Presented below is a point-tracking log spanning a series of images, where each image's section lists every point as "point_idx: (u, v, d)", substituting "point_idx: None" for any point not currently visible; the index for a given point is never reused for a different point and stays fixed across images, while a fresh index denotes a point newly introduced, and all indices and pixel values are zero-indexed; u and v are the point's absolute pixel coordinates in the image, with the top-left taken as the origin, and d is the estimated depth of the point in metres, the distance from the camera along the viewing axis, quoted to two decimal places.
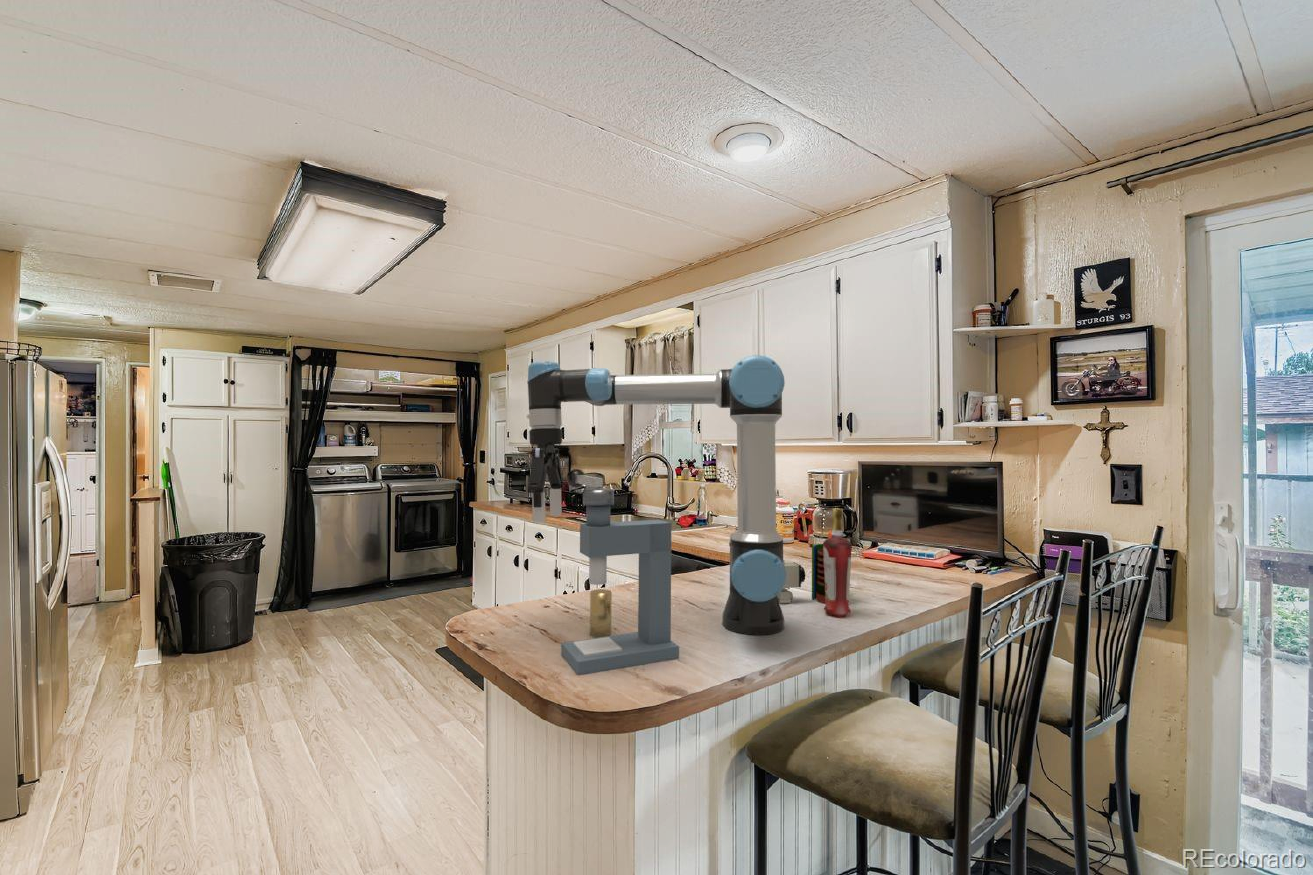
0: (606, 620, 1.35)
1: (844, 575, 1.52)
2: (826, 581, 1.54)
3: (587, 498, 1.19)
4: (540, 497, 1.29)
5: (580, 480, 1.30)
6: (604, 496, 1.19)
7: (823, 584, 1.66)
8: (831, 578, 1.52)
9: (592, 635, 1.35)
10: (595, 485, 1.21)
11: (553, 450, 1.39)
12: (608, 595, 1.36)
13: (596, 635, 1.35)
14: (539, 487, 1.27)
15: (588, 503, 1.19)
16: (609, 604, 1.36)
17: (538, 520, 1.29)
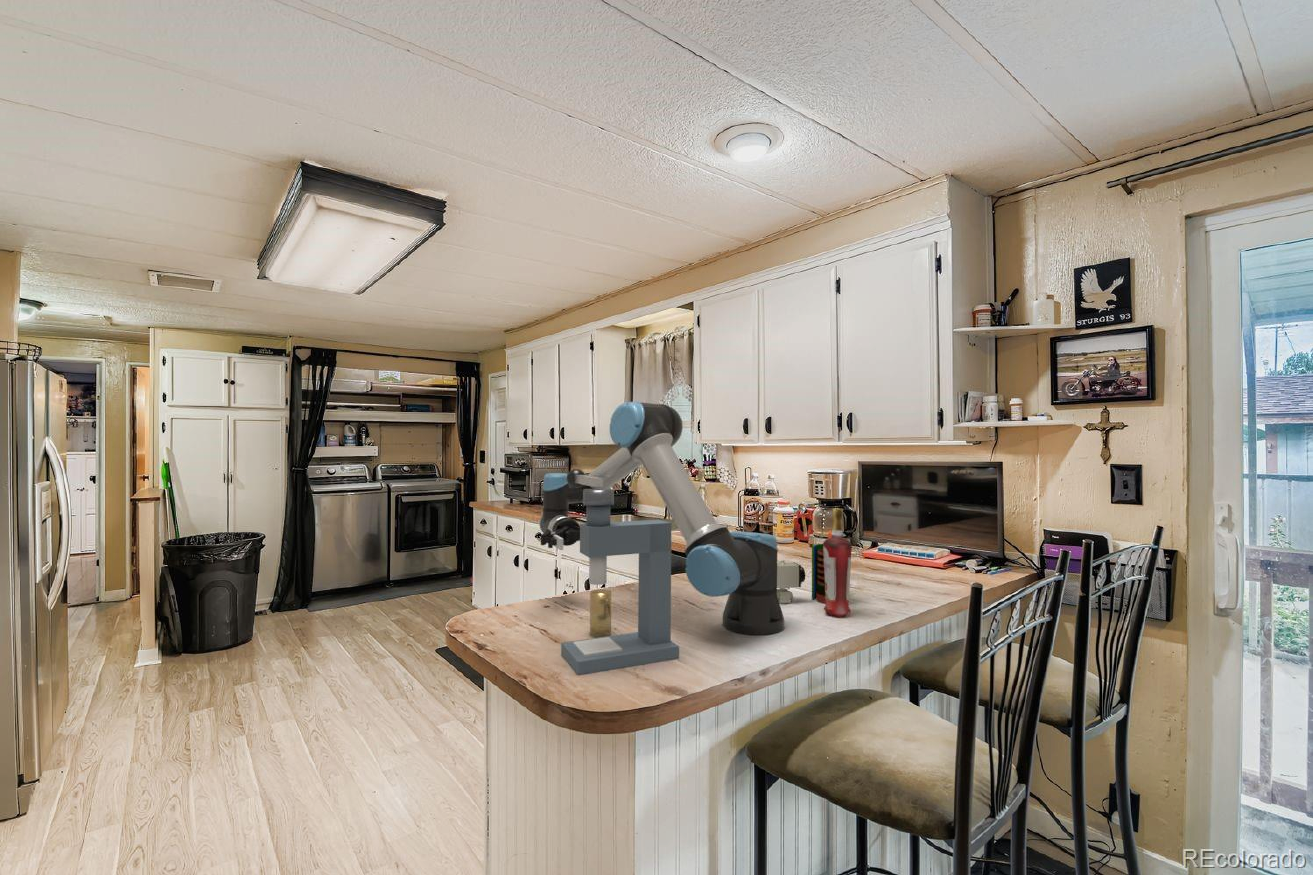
0: (606, 620, 1.35)
1: (844, 575, 1.52)
2: (826, 581, 1.54)
3: (587, 498, 1.19)
4: (552, 538, 1.48)
5: (580, 480, 1.30)
6: (604, 496, 1.19)
7: (823, 584, 1.66)
8: (831, 578, 1.52)
9: (592, 635, 1.35)
10: (595, 485, 1.21)
11: None
12: (607, 594, 1.36)
13: (596, 635, 1.35)
14: (541, 535, 1.49)
15: (588, 503, 1.19)
16: (609, 604, 1.36)
17: (559, 544, 1.43)
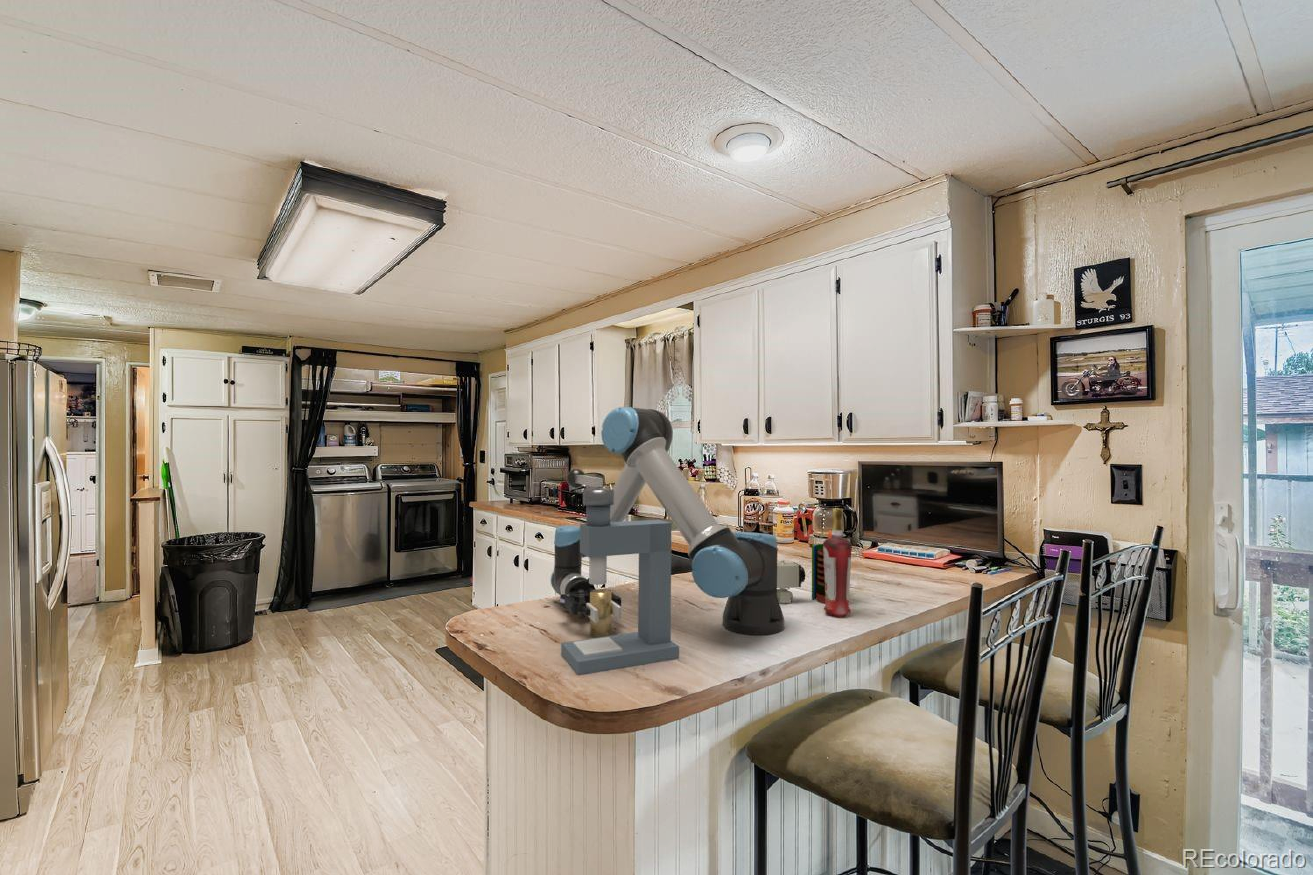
0: (606, 619, 1.35)
1: (844, 575, 1.52)
2: (826, 581, 1.54)
3: (587, 498, 1.19)
4: (585, 607, 1.36)
5: (580, 480, 1.30)
6: (604, 496, 1.19)
7: (823, 584, 1.66)
8: (831, 578, 1.52)
9: (592, 635, 1.35)
10: (595, 485, 1.21)
11: None
12: (607, 594, 1.36)
13: (596, 635, 1.35)
14: (573, 603, 1.37)
15: (588, 503, 1.19)
16: (609, 604, 1.36)
17: (594, 616, 1.31)
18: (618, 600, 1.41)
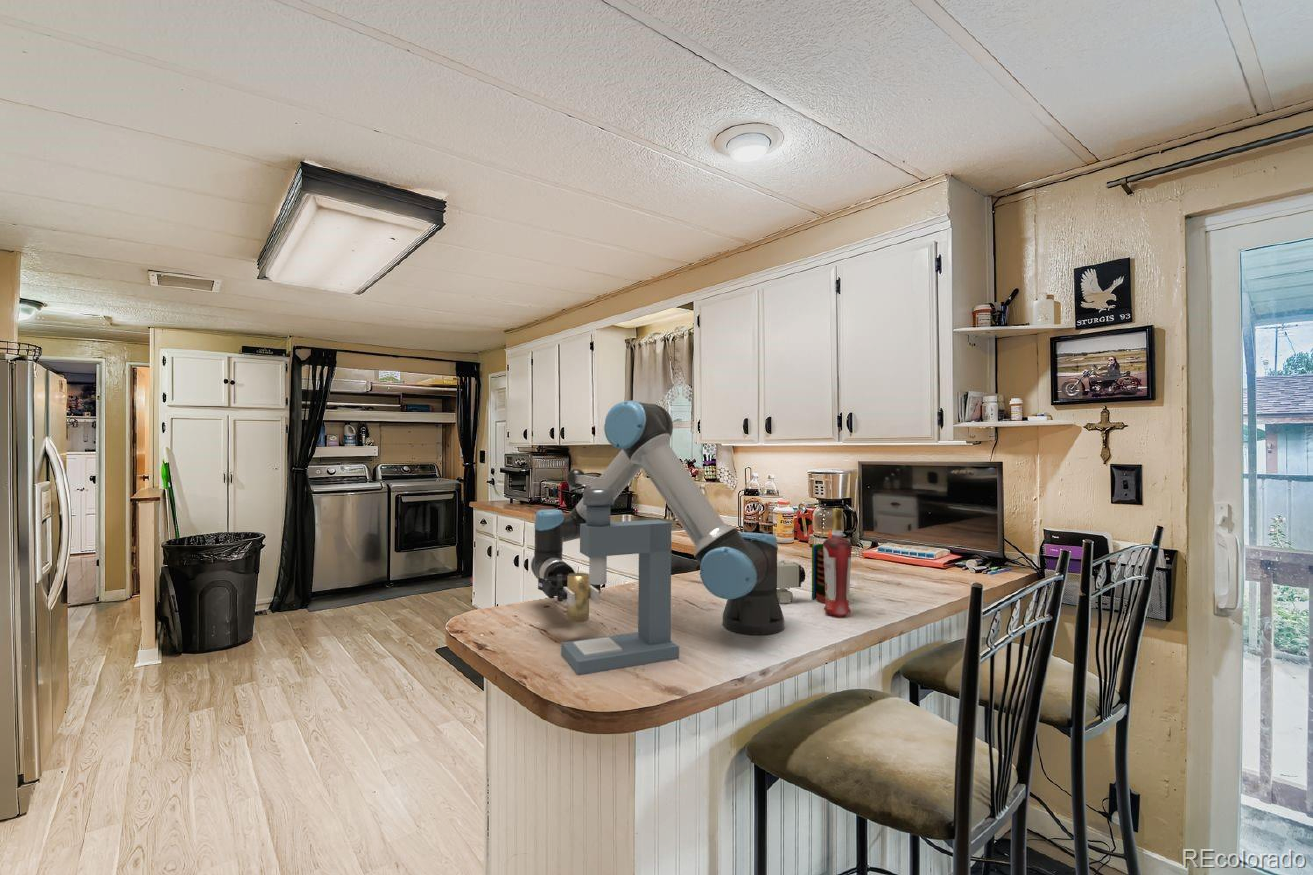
0: (584, 603, 1.31)
1: (844, 575, 1.52)
2: (826, 581, 1.54)
3: (587, 498, 1.19)
4: (562, 590, 1.32)
5: (580, 480, 1.30)
6: (604, 496, 1.19)
7: (823, 584, 1.66)
8: (831, 578, 1.52)
9: (569, 619, 1.31)
10: (595, 485, 1.21)
11: None
12: (585, 578, 1.32)
13: (573, 619, 1.31)
14: (550, 587, 1.33)
15: (588, 503, 1.19)
16: (587, 587, 1.32)
17: (571, 599, 1.27)
18: None
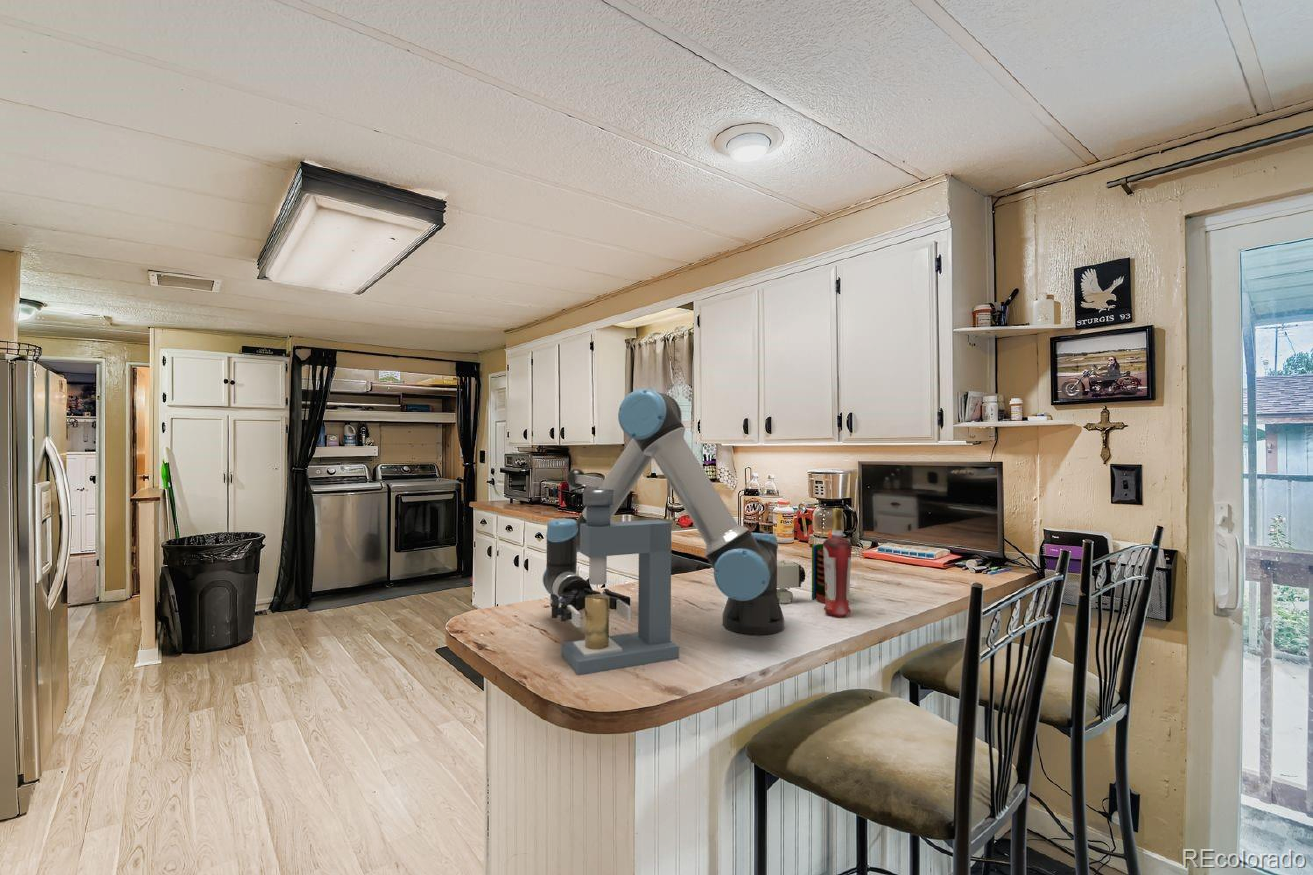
0: (603, 629, 1.19)
1: (844, 575, 1.52)
2: (826, 581, 1.54)
3: (587, 498, 1.19)
4: (566, 609, 1.20)
5: (580, 480, 1.30)
6: (604, 496, 1.19)
7: (823, 584, 1.66)
8: (831, 578, 1.52)
9: (587, 646, 1.19)
10: (595, 485, 1.21)
11: None
12: (605, 600, 1.20)
13: (592, 646, 1.19)
14: (553, 605, 1.21)
15: (588, 503, 1.19)
16: (607, 611, 1.20)
17: (575, 620, 1.15)
18: (627, 599, 1.27)
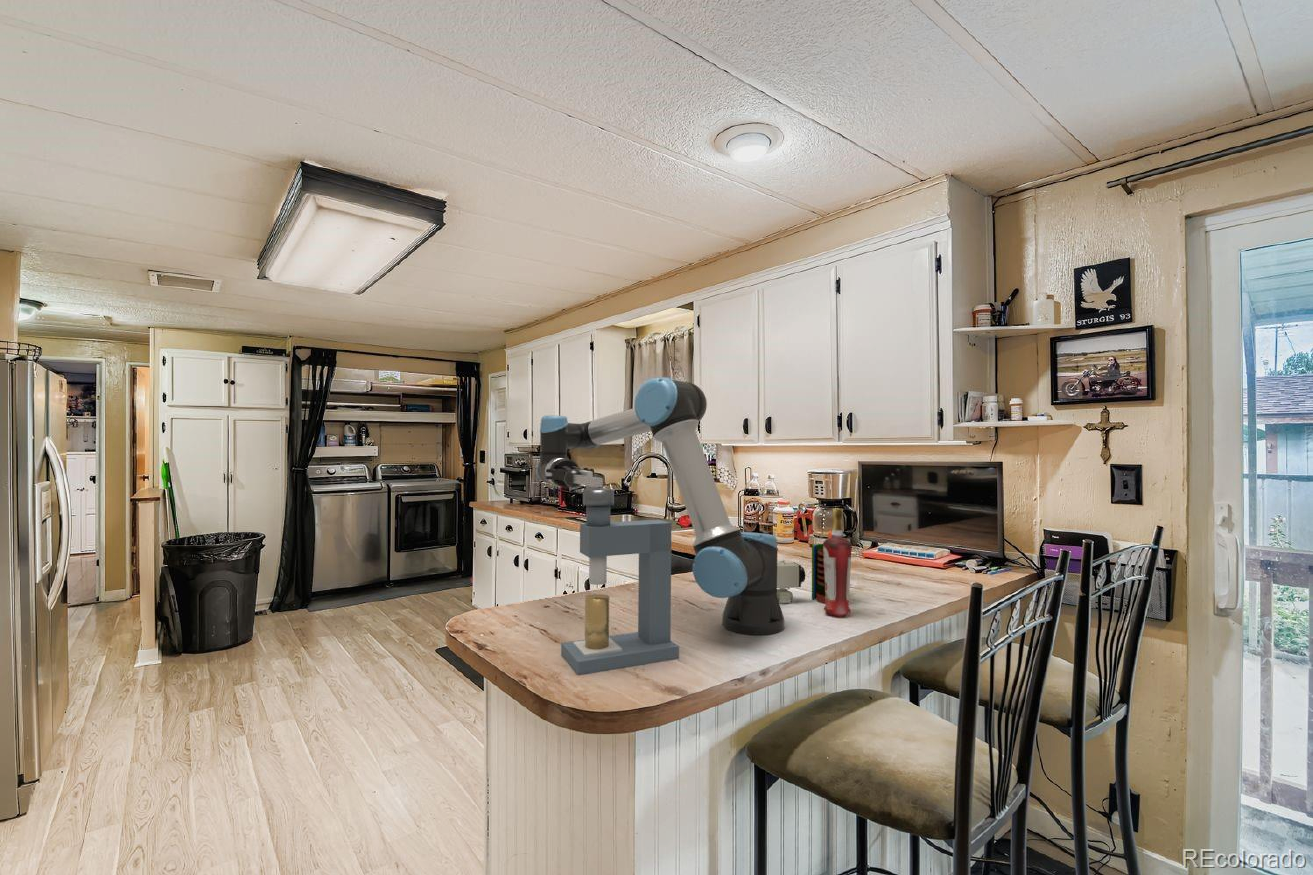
0: (603, 629, 1.19)
1: (844, 575, 1.52)
2: (826, 581, 1.54)
3: (588, 498, 1.19)
4: None
5: (578, 480, 1.30)
6: (604, 496, 1.19)
7: (823, 584, 1.66)
8: (831, 578, 1.52)
9: (587, 646, 1.19)
10: (595, 485, 1.21)
11: None
12: (605, 600, 1.20)
13: (592, 646, 1.19)
14: (567, 470, 1.41)
15: (588, 503, 1.19)
16: (607, 611, 1.20)
17: None
18: (590, 472, 1.43)
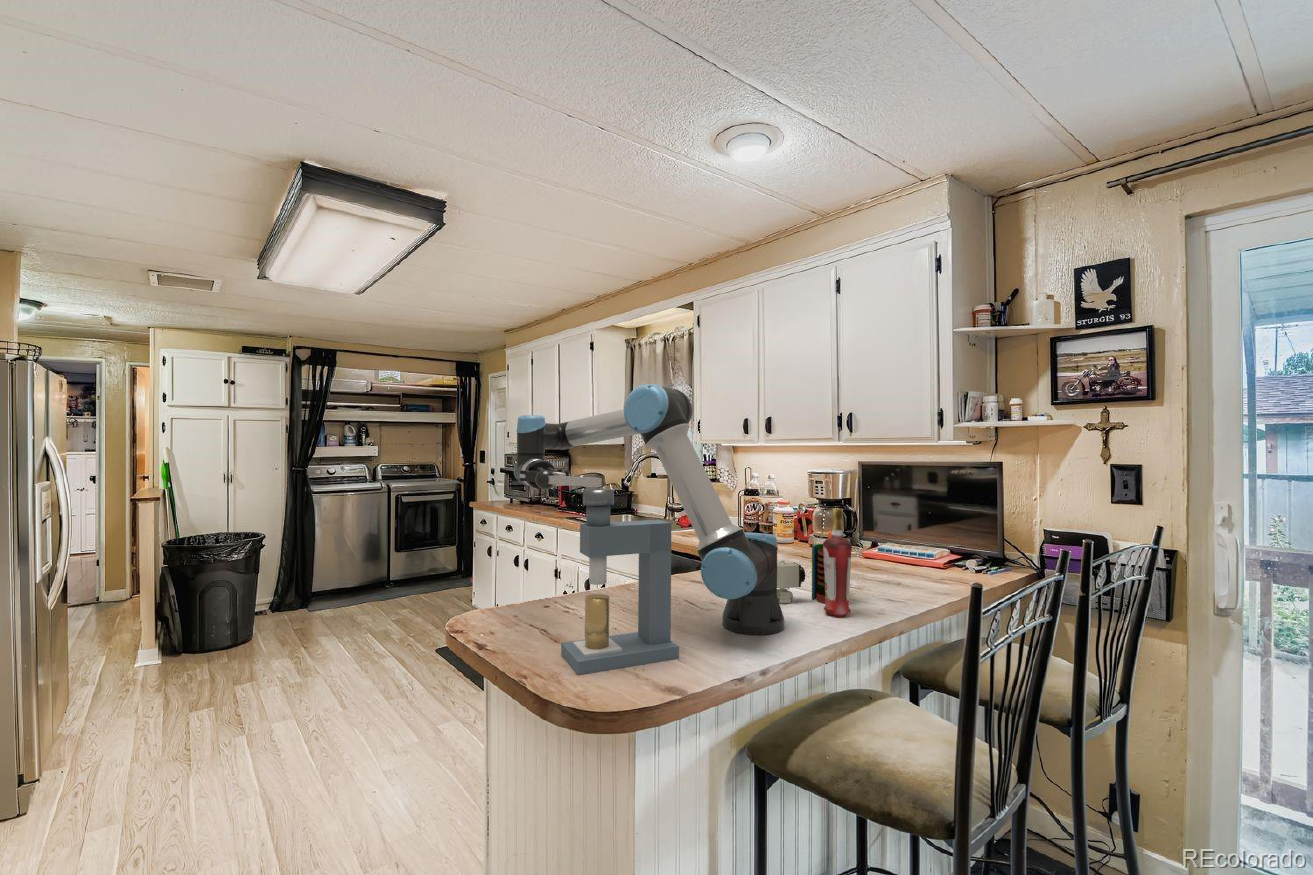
0: (603, 629, 1.19)
1: (844, 575, 1.52)
2: (826, 581, 1.54)
3: (594, 499, 1.18)
4: None
5: (562, 481, 1.26)
6: (610, 496, 1.20)
7: (823, 584, 1.66)
8: (831, 578, 1.52)
9: (587, 646, 1.19)
10: (596, 485, 1.21)
11: None
12: (605, 600, 1.20)
13: (592, 646, 1.19)
14: None
15: (595, 503, 1.18)
16: (607, 611, 1.20)
17: None
18: None
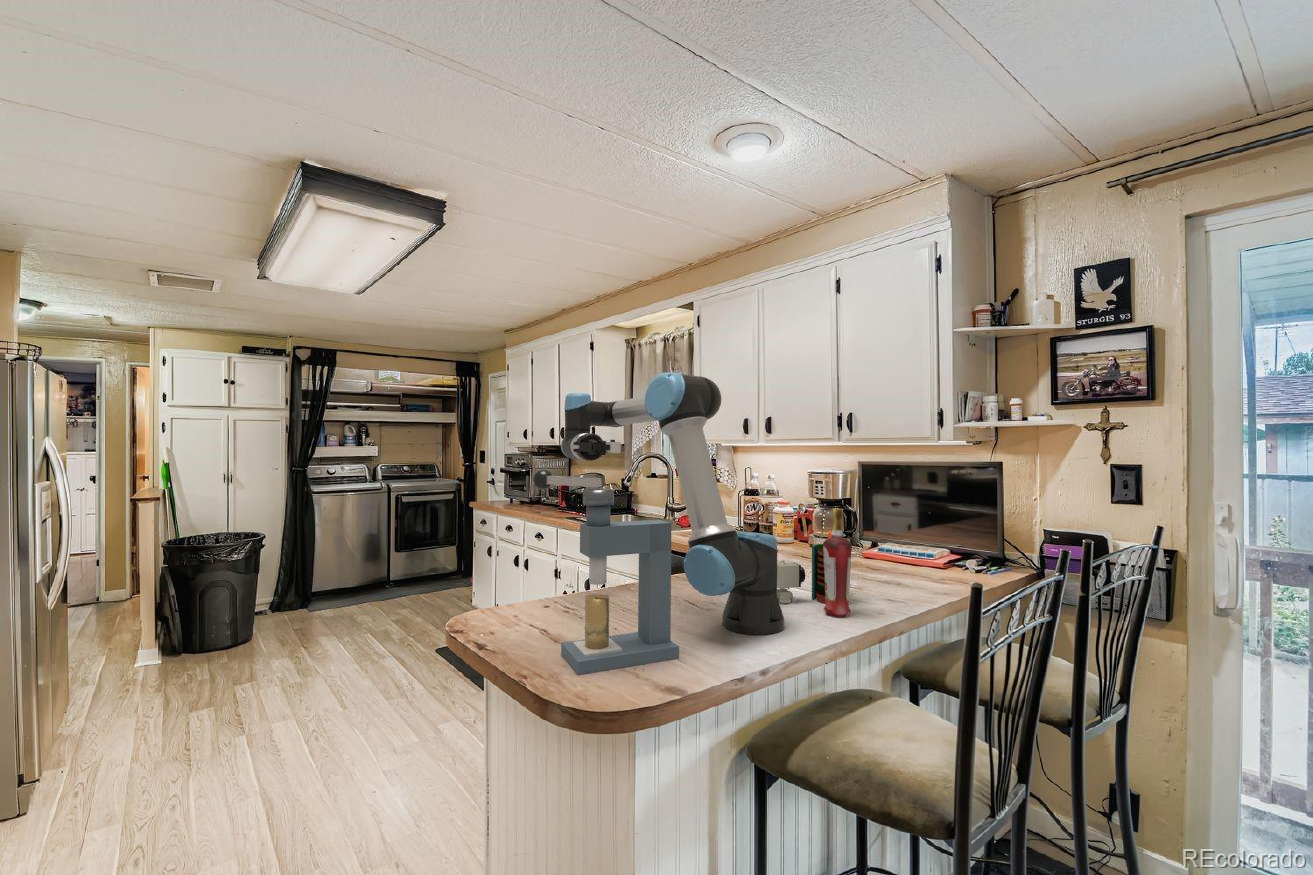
0: (603, 629, 1.19)
1: (844, 575, 1.52)
2: (826, 581, 1.54)
3: (595, 499, 1.18)
4: (605, 444, 1.46)
5: (560, 481, 1.26)
6: (611, 496, 1.20)
7: (823, 584, 1.66)
8: (831, 578, 1.52)
9: (587, 646, 1.19)
10: (596, 485, 1.21)
11: None
12: (605, 600, 1.20)
13: (592, 646, 1.19)
14: (594, 442, 1.47)
15: (596, 503, 1.18)
16: (607, 611, 1.20)
17: (614, 447, 1.42)
18: None
